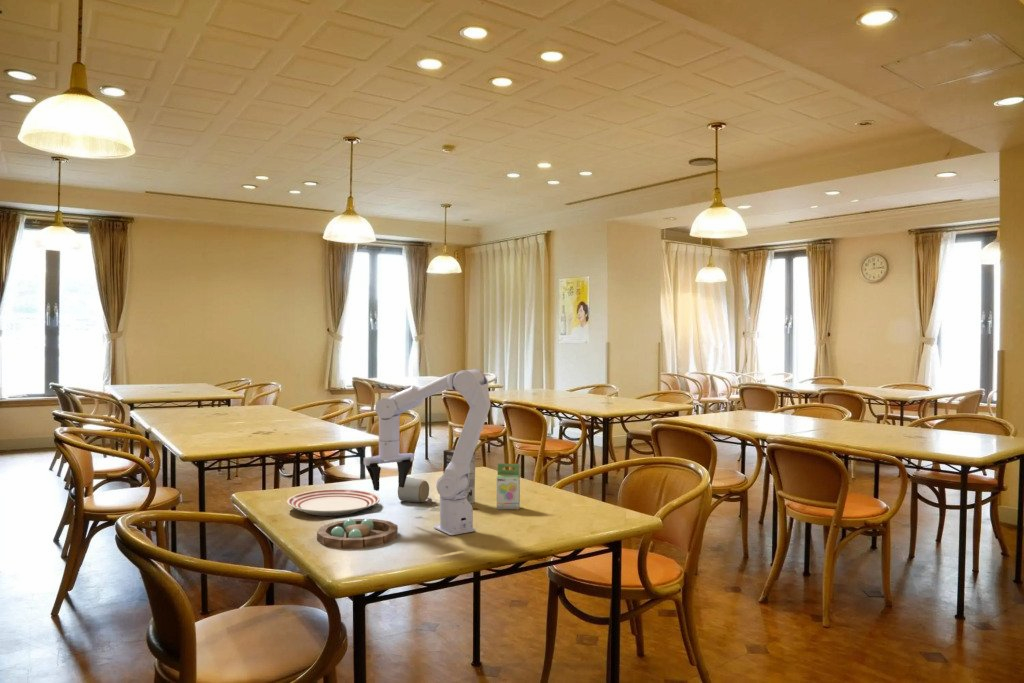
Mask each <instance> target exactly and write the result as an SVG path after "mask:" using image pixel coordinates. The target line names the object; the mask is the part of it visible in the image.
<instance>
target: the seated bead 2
mask: <svg viewBox="0 0 1024 683" xmlns="http://www.w3.org/2000/svg"><path fill="white" fill-rule="evenodd" d="M348 538H362V533H361V531H360V530H358V529H353V530H351V531H350V533H349V535H348Z"/></svg>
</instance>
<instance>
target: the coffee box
mask: <svg viewBox="0 0 1024 683" xmlns="http://www.w3.org/2000/svg"><path fill="white" fill-rule="evenodd" d="M454 451H455V449H453V448H452V449H445V450H443V474H444V472H445V469H446V468H447V466H448V465H449V463H450V462H451V460H452V457H453V454H454ZM469 466H470V473H469V485H468V487H467V489H466V490H465V491H466V498H467V501H468V502H469V503H470V504H474V503H475V500H476V499H475V497H476V496H475V494H476V452H475V451H474V454H473V456H472V459H471V462H470V465H469ZM443 474H442V475H443Z"/></svg>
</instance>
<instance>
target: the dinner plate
mask: <svg viewBox="0 0 1024 683" xmlns="http://www.w3.org/2000/svg"><path fill="white" fill-rule="evenodd" d="M380 499H381V498H380V496H379V495H377V493H374V492H371V491H366V490H360V489H347V488H327V489H316V490H315V489H314V490H310V491H309V490H308V491H305V492H301V493H297V494H295V495H293V496H290V497H289V498H288V499H287V500H286V503H287V505H288V506H290V507H292V508H293V509H295V510H298V511H300V512H304V513H306V514H308V515H313V516H323V517H324V516H325V517H326V516H329V517H330V516H331V517H332V516H344V515H350V514H354V513H358V512H361V511H362V510H366V509H368V508H370V507H372V506H374V505H376V504H378V503H379V502H380Z"/></svg>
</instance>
